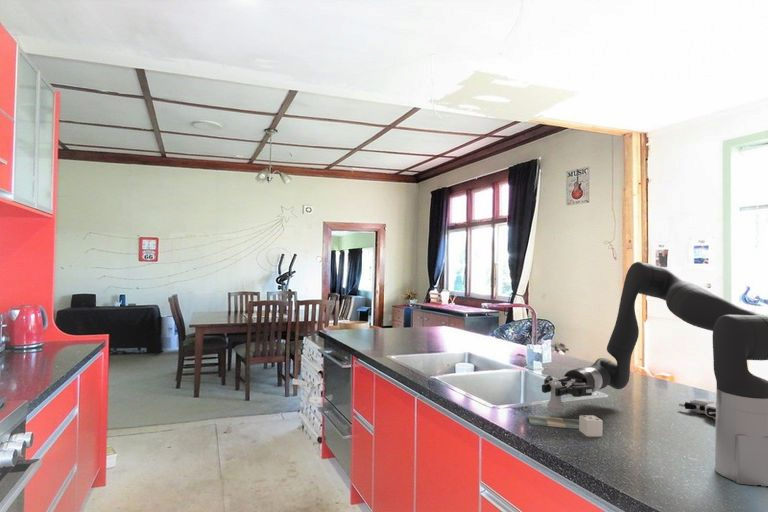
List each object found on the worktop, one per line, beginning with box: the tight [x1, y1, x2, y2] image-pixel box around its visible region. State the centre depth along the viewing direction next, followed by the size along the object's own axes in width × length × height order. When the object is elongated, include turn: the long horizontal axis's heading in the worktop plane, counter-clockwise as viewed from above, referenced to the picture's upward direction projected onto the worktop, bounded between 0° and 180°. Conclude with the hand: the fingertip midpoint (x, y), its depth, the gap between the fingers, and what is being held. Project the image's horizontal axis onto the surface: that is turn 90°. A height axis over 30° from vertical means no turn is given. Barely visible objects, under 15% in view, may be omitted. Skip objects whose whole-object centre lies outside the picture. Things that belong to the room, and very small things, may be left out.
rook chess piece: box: [546, 380, 565, 414], centre depth 126 cm, size 4×4×8 cm
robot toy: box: [678, 398, 716, 421], centre depth 135 cm, size 12×4×15 cm
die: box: [578, 414, 604, 438], centre depth 118 cm, size 4×4×4 cm
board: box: [527, 414, 604, 432], centre depth 125 cm, size 6×18×1 cm, turn 79°
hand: (550, 390), depth 124 cm, fingers closed on rook chess piece, 3 cm apart
